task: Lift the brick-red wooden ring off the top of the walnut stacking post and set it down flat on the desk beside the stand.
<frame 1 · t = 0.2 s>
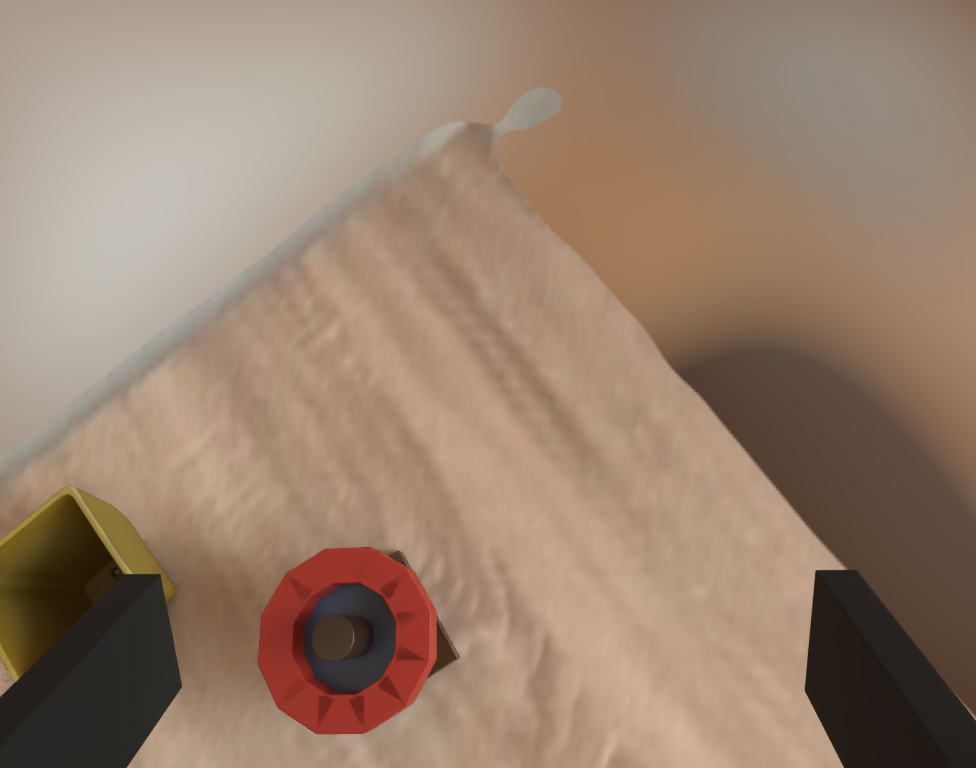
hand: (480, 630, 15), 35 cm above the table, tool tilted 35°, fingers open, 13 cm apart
ring: (353, 637, 44), point 6 cm above the table, touching stacking post
flower pot: (133, 591, 52), on the table
stacking post: (379, 635, 49), on the table
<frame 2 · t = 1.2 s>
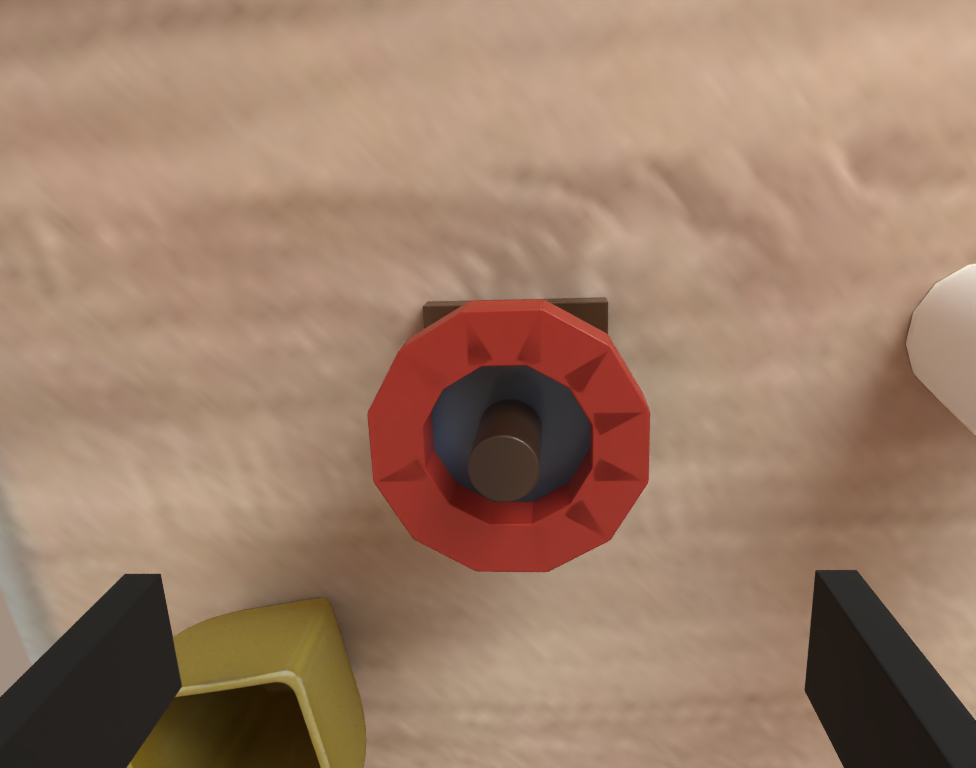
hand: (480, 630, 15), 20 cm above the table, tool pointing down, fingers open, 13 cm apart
ring: (510, 429, 28), point 6 cm above the table, touching stacking post
flower pot: (300, 640, 39), on the table
stacking post: (518, 385, 34), on the table
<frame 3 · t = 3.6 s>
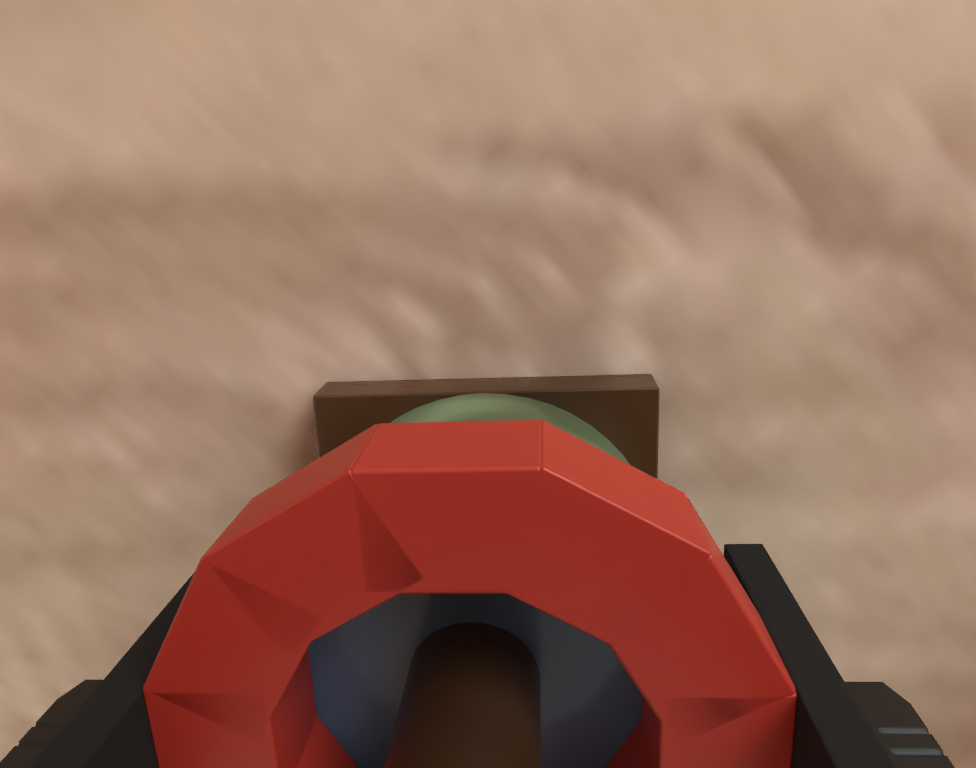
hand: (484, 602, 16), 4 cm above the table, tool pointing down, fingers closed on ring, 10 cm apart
ring: (474, 679, 13), point 6 cm above the table, touching gripper, stacking post
stacking post: (493, 525, 19), on the table
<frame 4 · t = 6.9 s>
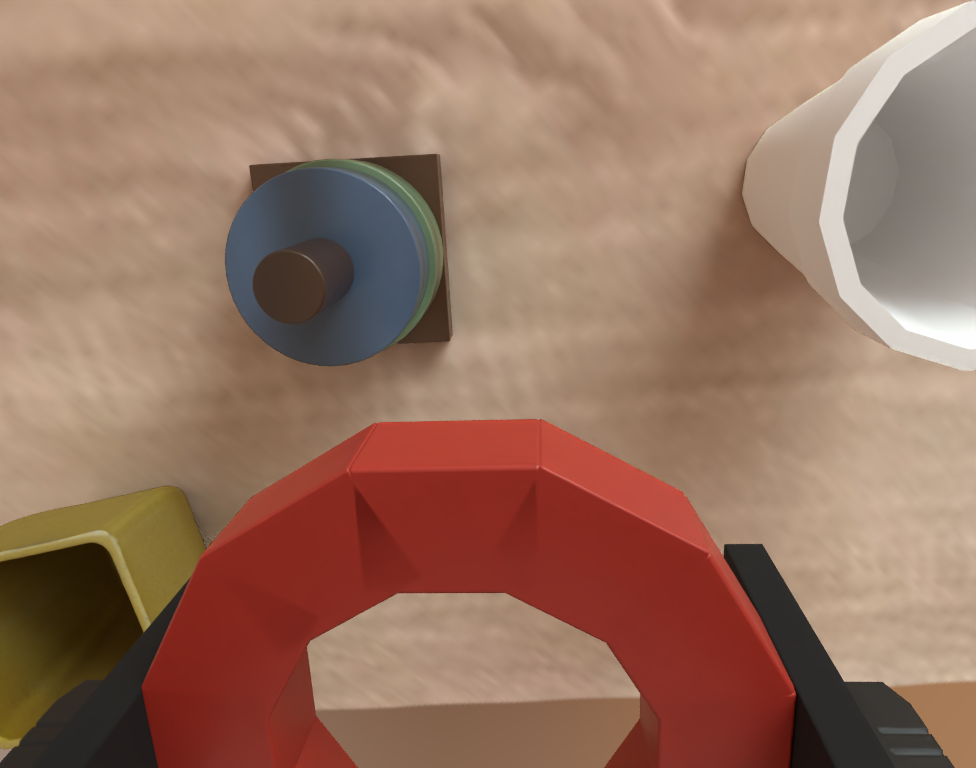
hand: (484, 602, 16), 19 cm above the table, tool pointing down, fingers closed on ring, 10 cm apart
ring: (473, 678, 13), point 22 cm above the table, touching gripper
flower pot: (159, 536, 38), on the table
foam cup: (816, 181, 31), on the table
stacking post: (358, 252, 33), on the table
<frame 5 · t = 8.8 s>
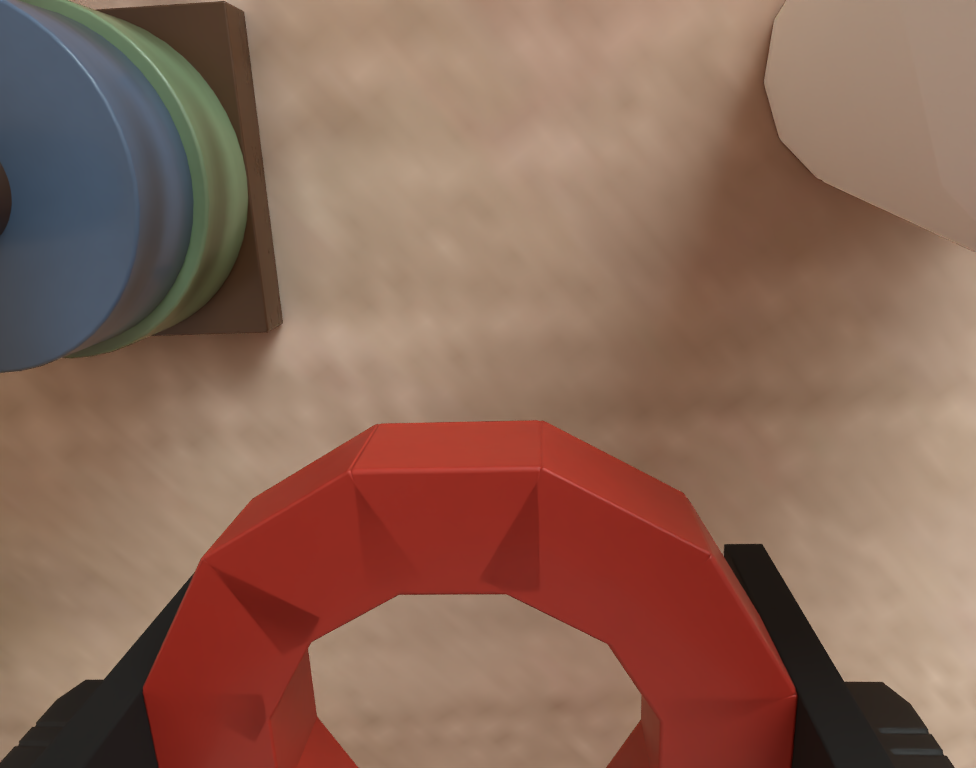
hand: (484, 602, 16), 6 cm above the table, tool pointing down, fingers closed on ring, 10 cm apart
ring: (474, 679, 13), point 9 cm above the table, touching gripper
foam cup: (894, 61, 18), on the table
stacking post: (121, 182, 20), on the table
when the fingers open (0 cm above the table, at t = 10.6 s): ring drops 3 cm, on the table.
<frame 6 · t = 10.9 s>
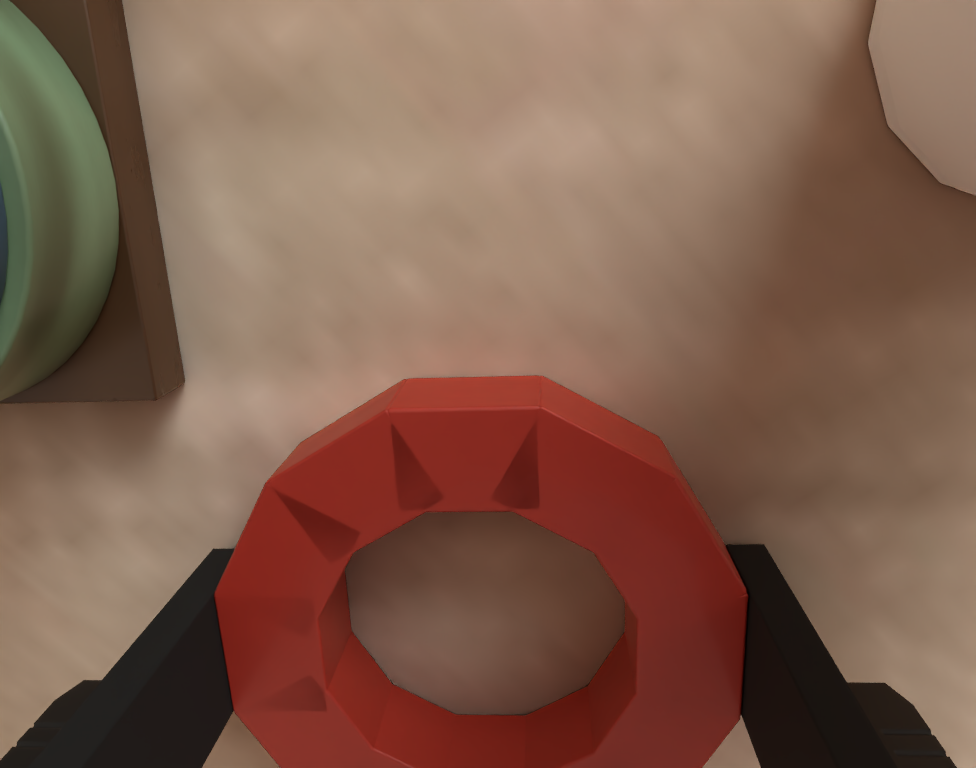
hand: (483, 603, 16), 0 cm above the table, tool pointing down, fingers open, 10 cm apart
ring: (484, 598, 16), on the table, touching gripper
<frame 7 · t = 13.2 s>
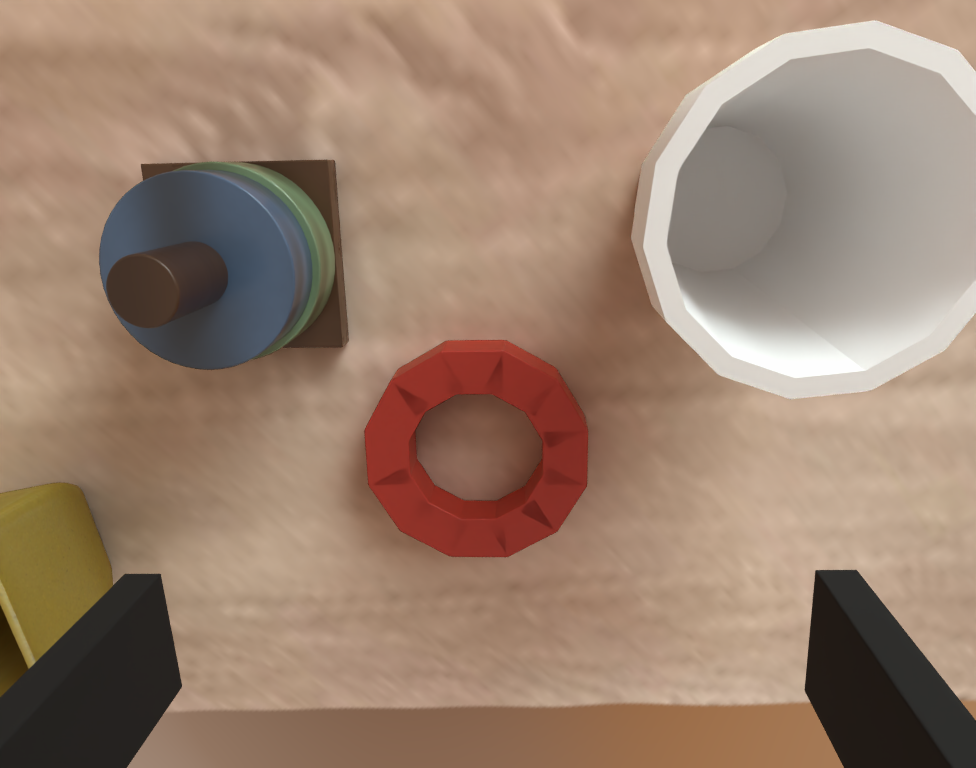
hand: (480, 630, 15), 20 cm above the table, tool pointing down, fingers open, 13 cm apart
ring: (478, 442, 35), on the table
flower pot: (57, 532, 38), on the table
foam cup: (708, 200, 31), on the table
stacking post: (254, 255, 33), on the table
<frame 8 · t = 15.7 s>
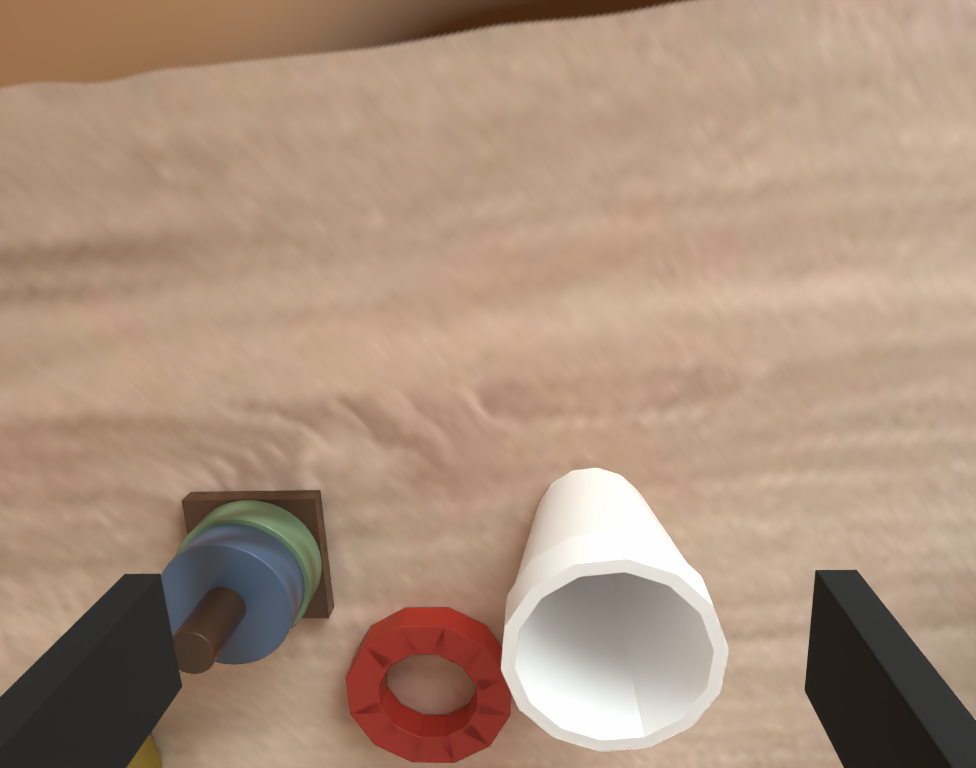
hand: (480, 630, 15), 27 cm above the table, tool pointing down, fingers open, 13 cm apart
ring: (432, 675, 47), on the table
flower pot: (120, 733, 50), on the table
foam cup: (590, 515, 43), on the table
stacking post: (263, 550, 45), on the table
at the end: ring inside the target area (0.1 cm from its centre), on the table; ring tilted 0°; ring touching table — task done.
